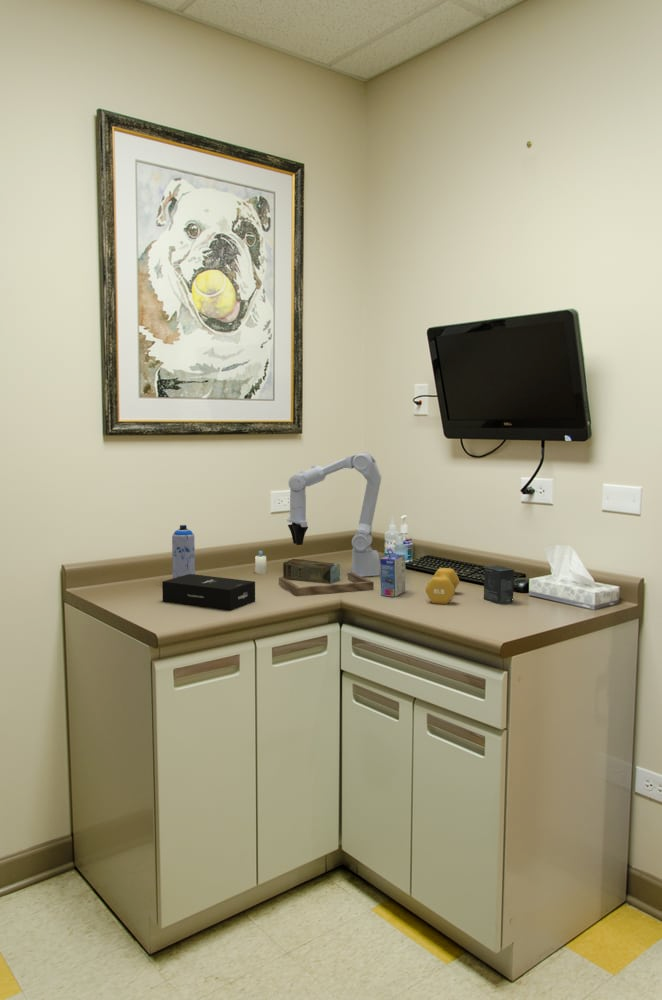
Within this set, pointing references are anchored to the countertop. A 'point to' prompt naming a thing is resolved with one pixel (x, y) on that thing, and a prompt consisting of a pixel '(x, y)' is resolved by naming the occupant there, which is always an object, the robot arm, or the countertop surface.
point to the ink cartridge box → (392, 574)
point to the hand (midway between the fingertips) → (297, 544)
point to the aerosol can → (183, 552)
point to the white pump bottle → (260, 563)
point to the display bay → (329, 586)
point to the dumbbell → (442, 586)
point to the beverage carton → (311, 571)
